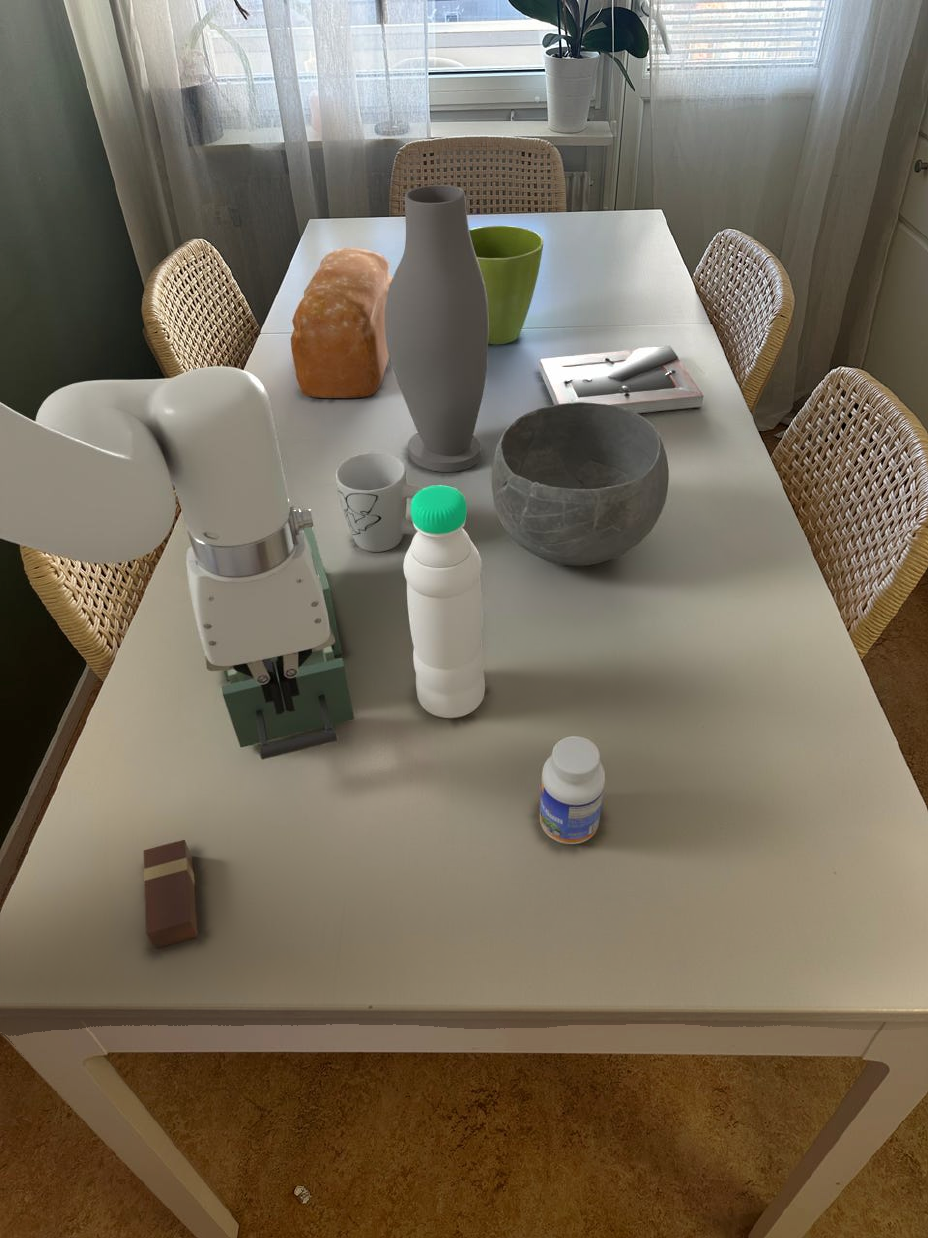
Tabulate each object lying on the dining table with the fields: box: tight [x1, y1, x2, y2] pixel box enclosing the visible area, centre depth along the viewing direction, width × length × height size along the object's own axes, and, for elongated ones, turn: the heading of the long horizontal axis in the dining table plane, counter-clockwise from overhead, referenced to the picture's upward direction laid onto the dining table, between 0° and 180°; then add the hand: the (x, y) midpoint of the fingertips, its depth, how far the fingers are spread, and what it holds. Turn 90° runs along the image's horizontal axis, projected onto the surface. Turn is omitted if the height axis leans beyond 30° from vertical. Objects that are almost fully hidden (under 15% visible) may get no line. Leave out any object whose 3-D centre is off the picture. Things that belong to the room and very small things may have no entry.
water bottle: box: [403, 484, 486, 719], centre depth 82 cm, size 7×7×25 cm
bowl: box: [490, 402, 670, 567], centre depth 103 cm, size 20×20×15 cm
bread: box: [290, 247, 393, 399], centre depth 141 cm, size 14×26×16 cm, turn 176°
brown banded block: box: [142, 839, 199, 950], centre depth 73 cm, size 4×8×3 cm, turn 17°
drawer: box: [221, 646, 355, 760], centre depth 86 cm, size 19×11×8 cm, turn 17°
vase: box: [385, 184, 489, 473], centre depth 112 cm, size 13×13×35 cm
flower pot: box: [469, 225, 545, 345], centre depth 146 cm, size 15×15×16 cm
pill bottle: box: [539, 735, 606, 845], centre depth 75 cm, size 5×5×10 cm
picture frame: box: [538, 345, 705, 415], centre depth 135 cm, size 16×2×22 cm
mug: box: [335, 451, 423, 553], centre depth 106 cm, size 11×8×10 cm
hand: (283, 701), depth 77 cm, fingers closed
